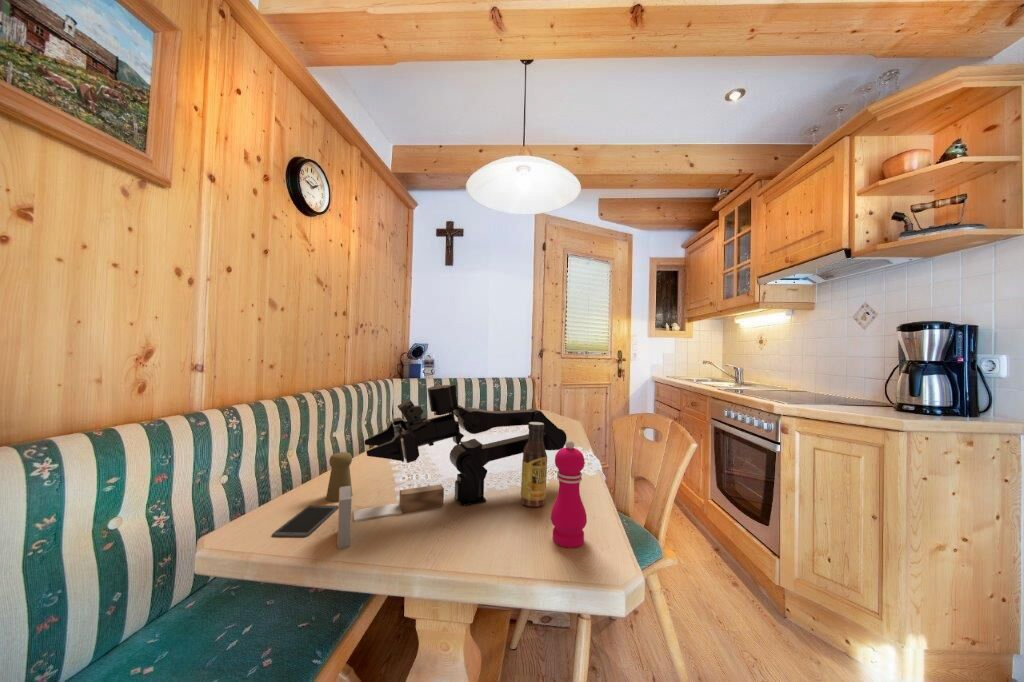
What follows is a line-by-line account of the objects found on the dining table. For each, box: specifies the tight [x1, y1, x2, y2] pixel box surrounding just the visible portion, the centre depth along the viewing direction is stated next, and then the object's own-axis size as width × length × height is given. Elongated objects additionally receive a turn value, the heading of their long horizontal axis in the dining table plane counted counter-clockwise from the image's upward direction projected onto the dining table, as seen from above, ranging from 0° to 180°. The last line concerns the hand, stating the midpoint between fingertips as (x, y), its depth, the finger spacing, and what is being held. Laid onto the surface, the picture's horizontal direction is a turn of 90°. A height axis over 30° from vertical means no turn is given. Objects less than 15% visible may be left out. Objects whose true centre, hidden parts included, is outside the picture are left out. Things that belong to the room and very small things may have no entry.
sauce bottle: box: [520, 422, 548, 508], centre depth 89 cm, size 7×6×20 cm
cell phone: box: [271, 504, 339, 539], centre depth 77 cm, size 7×14×1 cm, turn 1°
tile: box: [336, 485, 353, 549], centre depth 70 cm, size 2×7×9 cm, turn 26°
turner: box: [353, 483, 445, 523], centre depth 83 cm, size 20×5×4 cm, turn 116°
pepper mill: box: [550, 439, 588, 549], centre depth 72 cm, size 7×7×20 cm
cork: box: [325, 451, 353, 503], centre depth 89 cm, size 6×6×11 cm
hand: (365, 447), depth 79 cm, fingers open, 9 cm apart
